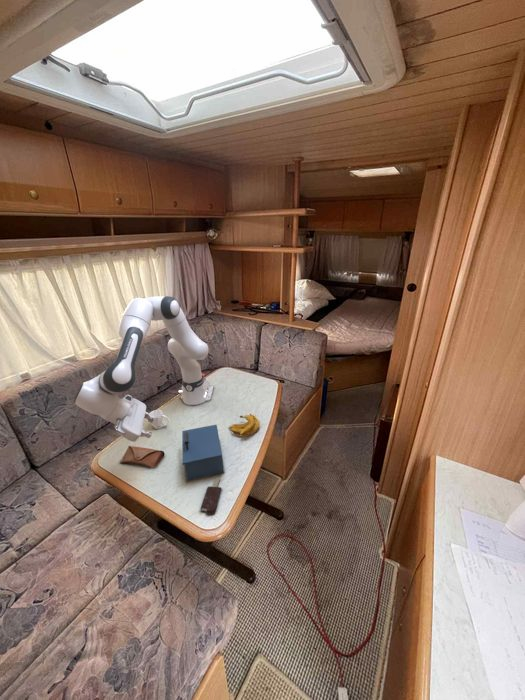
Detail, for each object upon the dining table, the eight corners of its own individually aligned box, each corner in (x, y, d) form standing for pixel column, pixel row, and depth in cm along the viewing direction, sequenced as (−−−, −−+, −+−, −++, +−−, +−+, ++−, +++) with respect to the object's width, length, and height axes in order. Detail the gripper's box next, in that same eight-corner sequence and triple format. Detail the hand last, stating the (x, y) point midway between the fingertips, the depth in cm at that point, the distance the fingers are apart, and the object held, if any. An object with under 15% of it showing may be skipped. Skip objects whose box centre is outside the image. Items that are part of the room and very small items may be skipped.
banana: (262, 417, 147) (261, 408, 145) (256, 442, 130) (255, 432, 128) (234, 415, 150) (233, 406, 147) (225, 439, 132) (224, 430, 130)
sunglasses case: (117, 463, 120) (120, 447, 120) (128, 459, 127) (130, 444, 127) (155, 468, 116) (157, 452, 117) (163, 464, 123) (165, 449, 124)
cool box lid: (182, 464, 107) (180, 454, 105) (182, 432, 125) (180, 423, 123) (222, 456, 111) (221, 446, 109) (216, 425, 128) (215, 416, 126)
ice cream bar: (211, 478, 111) (200, 513, 98) (211, 475, 111) (199, 510, 97) (224, 479, 111) (214, 514, 97) (223, 476, 110) (214, 511, 97)
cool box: (187, 480, 111) (184, 464, 107) (187, 447, 128) (184, 432, 125) (224, 472, 114) (222, 456, 111) (218, 440, 132) (216, 425, 128)
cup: (155, 421, 147) (152, 409, 143) (172, 422, 145) (170, 410, 142) (148, 430, 140) (145, 417, 137) (167, 431, 139) (164, 418, 136)
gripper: (118, 423, 93) (154, 439, 99) (129, 392, 111) (158, 407, 117) (107, 436, 94) (143, 451, 100) (120, 403, 112) (149, 418, 118)
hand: (152, 427), depth 109 cm, fingers open, 8 cm apart
